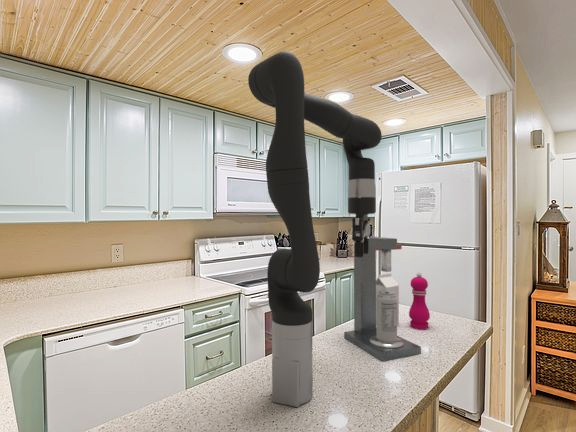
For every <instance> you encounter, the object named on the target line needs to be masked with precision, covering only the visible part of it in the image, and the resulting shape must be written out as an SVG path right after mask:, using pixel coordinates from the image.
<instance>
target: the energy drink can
mask: <svg viewBox="0 0 576 432" xmlns="http://www.w3.org/2000/svg"><path fill="white" fill-rule="evenodd" d="M376 327H377V338H378V339H379V341H380V342H382V343H386V344H392V343H395V340H397V336H398V325H397V297H396V296H395V292H393V291H387V290H382V291H379V294H378V295H377V325H376Z"/></svg>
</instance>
